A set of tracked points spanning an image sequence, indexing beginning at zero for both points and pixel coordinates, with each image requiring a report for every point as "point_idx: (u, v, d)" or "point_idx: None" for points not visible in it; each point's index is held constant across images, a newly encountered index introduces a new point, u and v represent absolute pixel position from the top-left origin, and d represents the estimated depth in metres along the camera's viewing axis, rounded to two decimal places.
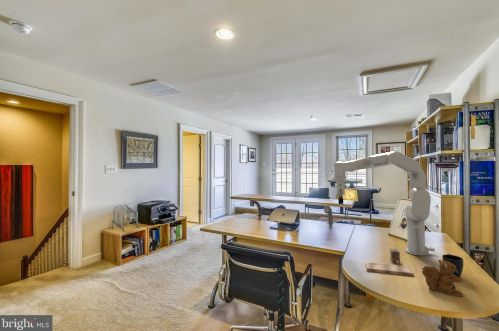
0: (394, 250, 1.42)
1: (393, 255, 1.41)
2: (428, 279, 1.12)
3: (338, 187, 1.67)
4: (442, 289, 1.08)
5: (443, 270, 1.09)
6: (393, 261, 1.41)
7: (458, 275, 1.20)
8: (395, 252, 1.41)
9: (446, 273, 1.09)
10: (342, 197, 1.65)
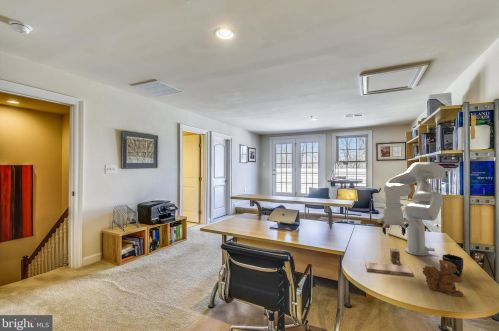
0: (394, 250, 1.42)
1: (393, 255, 1.41)
2: (428, 279, 1.12)
3: None
4: (442, 289, 1.08)
5: (444, 270, 1.09)
6: (393, 261, 1.41)
7: (458, 275, 1.20)
8: (395, 252, 1.41)
9: (447, 273, 1.09)
10: None
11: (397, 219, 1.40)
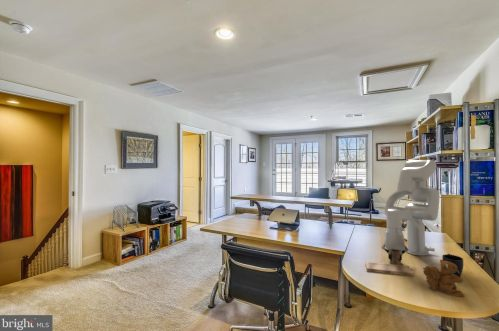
0: (394, 250, 1.42)
1: (393, 255, 1.41)
2: (429, 279, 1.12)
3: None
4: (443, 289, 1.08)
5: (444, 270, 1.09)
6: (393, 261, 1.41)
7: (458, 275, 1.20)
8: (395, 252, 1.41)
9: (447, 273, 1.09)
10: None
11: (398, 244, 1.40)
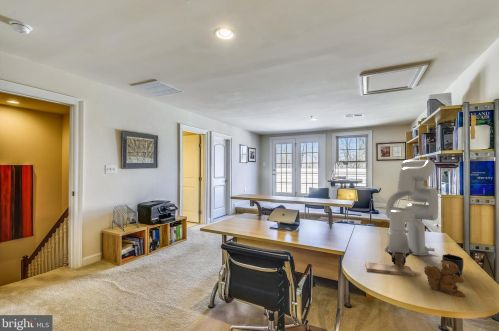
0: (398, 253, 1.37)
1: (397, 258, 1.36)
2: (430, 279, 1.12)
3: (408, 242, 1.35)
4: (443, 289, 1.08)
5: (445, 270, 1.09)
6: (397, 264, 1.36)
7: (458, 275, 1.20)
8: (399, 255, 1.35)
9: (448, 273, 1.09)
10: None
11: (402, 246, 1.35)
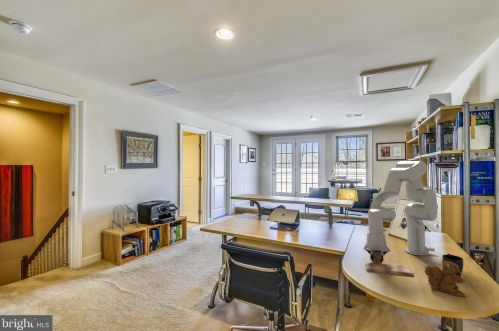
0: (376, 251, 1.41)
1: (375, 256, 1.39)
2: (430, 278, 1.12)
3: (385, 241, 1.38)
4: (444, 289, 1.08)
5: (446, 270, 1.09)
6: (375, 262, 1.39)
7: (458, 275, 1.20)
8: (377, 253, 1.39)
9: (449, 273, 1.09)
10: None
11: (380, 245, 1.38)
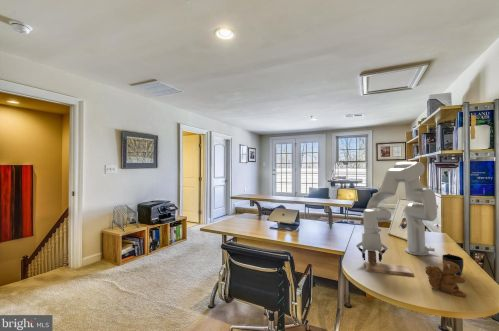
0: (371, 251, 1.42)
1: (370, 256, 1.40)
2: (431, 278, 1.12)
3: (380, 241, 1.39)
4: (444, 289, 1.08)
5: (446, 270, 1.09)
6: None
7: None
8: (372, 253, 1.40)
9: (449, 273, 1.09)
10: None
11: (375, 244, 1.39)
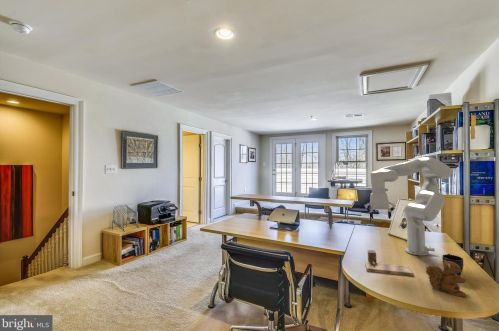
0: (371, 251, 1.42)
1: (370, 256, 1.40)
2: (431, 278, 1.12)
3: None
4: (445, 289, 1.08)
5: (447, 270, 1.09)
6: None
7: None
8: (372, 253, 1.40)
9: (450, 273, 1.09)
10: None
11: (383, 203, 1.47)
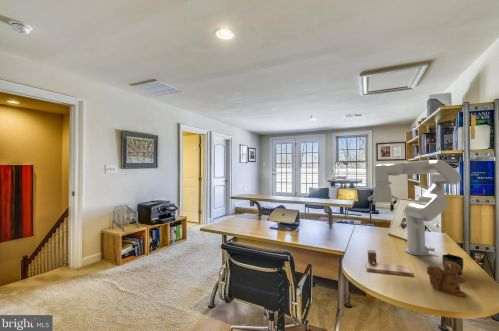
0: (371, 251, 1.42)
1: (370, 256, 1.40)
2: (432, 278, 1.12)
3: None
4: (445, 289, 1.08)
5: (447, 270, 1.09)
6: None
7: None
8: (372, 253, 1.40)
9: (450, 273, 1.08)
10: None
11: (386, 196, 1.51)
